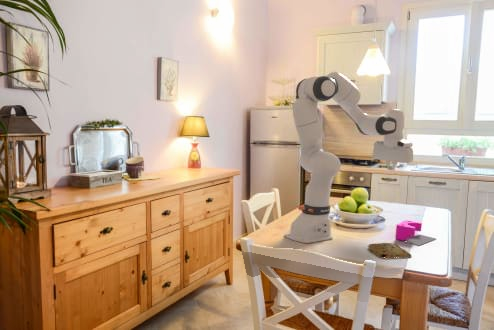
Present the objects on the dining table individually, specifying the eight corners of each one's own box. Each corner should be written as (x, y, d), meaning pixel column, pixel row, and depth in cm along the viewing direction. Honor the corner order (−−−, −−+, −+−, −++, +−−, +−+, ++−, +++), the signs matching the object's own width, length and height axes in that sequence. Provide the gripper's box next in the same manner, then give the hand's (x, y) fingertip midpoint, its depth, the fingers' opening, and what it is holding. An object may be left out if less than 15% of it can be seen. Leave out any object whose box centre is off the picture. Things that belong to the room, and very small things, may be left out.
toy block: (395, 238, 180) (412, 242, 175) (396, 224, 179) (414, 228, 175) (404, 232, 192) (420, 235, 187) (405, 220, 191) (421, 222, 187)
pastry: (361, 254, 161) (361, 247, 160) (374, 243, 175) (374, 237, 175) (406, 264, 151) (407, 257, 151) (415, 252, 165) (416, 245, 165)
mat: (418, 246, 172) (419, 245, 172) (401, 241, 178) (401, 240, 178) (436, 239, 182) (436, 238, 182) (419, 234, 188) (419, 234, 188)
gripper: (370, 140, 201) (368, 167, 203) (409, 143, 185) (406, 173, 187) (377, 140, 205) (375, 167, 207) (415, 143, 189) (413, 172, 191)
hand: (390, 170), depth 197 cm, fingers closed
